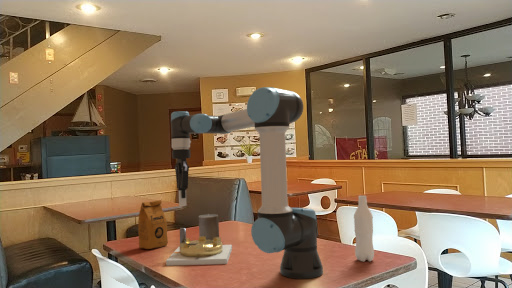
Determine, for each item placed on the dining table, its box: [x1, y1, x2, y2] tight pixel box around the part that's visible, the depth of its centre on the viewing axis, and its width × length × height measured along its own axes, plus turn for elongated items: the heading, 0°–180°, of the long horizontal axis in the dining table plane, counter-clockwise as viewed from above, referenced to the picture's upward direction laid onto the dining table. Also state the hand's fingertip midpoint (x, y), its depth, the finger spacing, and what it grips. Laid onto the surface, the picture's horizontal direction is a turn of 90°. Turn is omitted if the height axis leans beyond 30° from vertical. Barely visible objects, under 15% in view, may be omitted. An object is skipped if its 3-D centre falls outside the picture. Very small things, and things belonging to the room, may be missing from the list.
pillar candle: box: [198, 212, 220, 240], centre depth 193 cm, size 10×10×15 cm
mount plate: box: [165, 244, 233, 267], centre depth 169 cm, size 24×24×2 cm
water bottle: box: [353, 195, 375, 262], centre depth 156 cm, size 7×7×25 cm
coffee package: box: [137, 199, 169, 250], centre depth 190 cm, size 10×12×22 cm
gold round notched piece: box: [178, 227, 223, 257], centre depth 169 cm, size 18×18×10 cm
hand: (182, 205), depth 165 cm, fingers closed
